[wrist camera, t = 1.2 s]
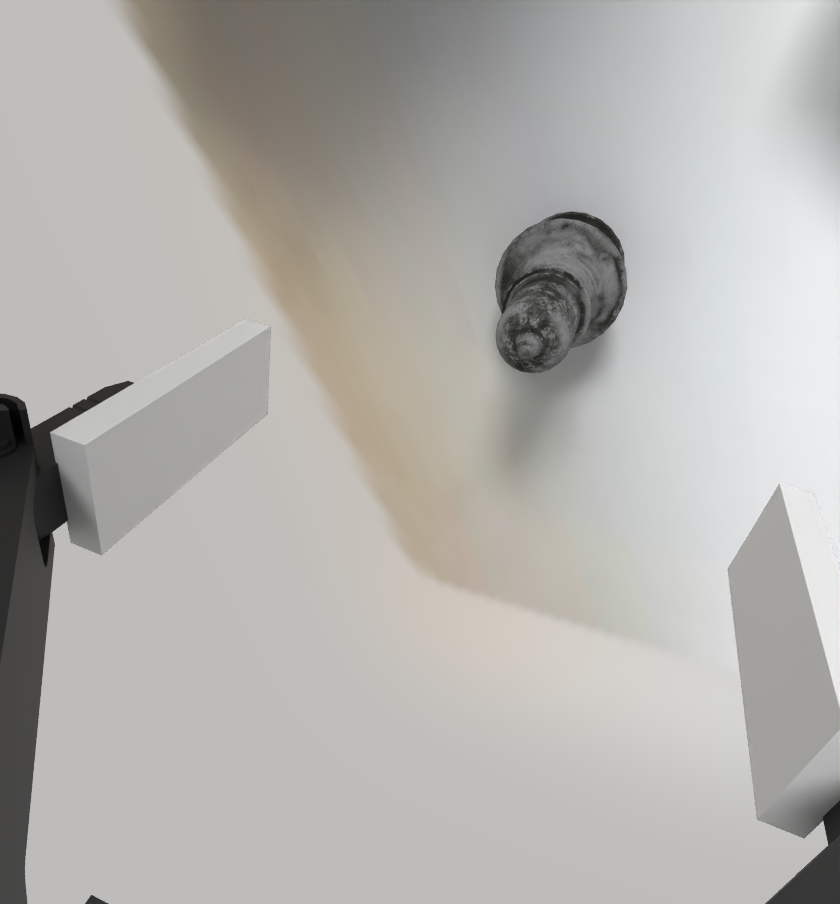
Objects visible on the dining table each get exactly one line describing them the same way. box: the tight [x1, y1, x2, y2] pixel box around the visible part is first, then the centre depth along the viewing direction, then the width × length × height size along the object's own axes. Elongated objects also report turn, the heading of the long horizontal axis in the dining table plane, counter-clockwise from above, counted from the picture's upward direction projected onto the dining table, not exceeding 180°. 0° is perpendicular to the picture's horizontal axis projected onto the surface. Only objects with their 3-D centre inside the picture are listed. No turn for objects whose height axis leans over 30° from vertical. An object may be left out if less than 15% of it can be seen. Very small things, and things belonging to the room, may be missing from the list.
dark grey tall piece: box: [495, 212, 627, 373], centre depth 27 cm, size 6×6×12 cm
